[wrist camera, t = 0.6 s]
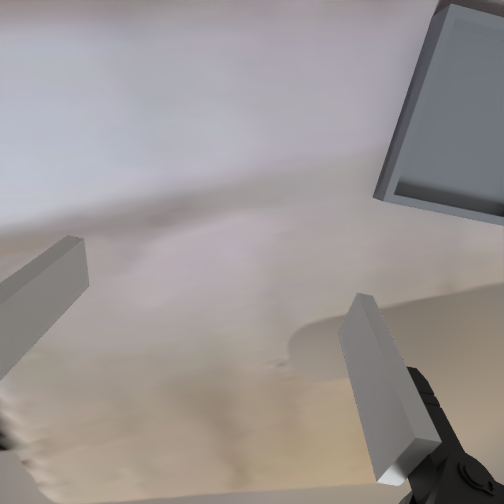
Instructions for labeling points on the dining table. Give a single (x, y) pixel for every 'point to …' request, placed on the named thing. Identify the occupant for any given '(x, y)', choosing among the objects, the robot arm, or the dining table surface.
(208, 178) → the dining table surface
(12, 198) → the dining table surface
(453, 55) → the tray
